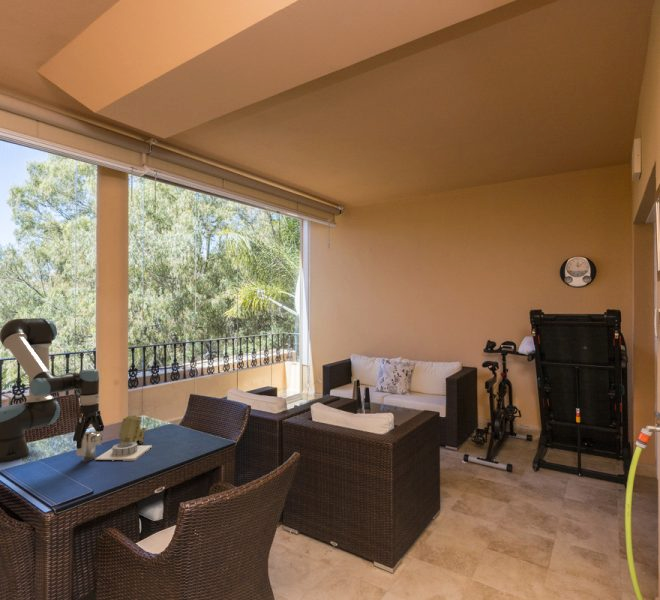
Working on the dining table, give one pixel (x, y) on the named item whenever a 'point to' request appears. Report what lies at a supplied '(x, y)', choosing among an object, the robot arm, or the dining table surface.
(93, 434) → the elbow
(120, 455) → the plate
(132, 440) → the mechanical component
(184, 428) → the dining table surface
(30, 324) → the robot arm
